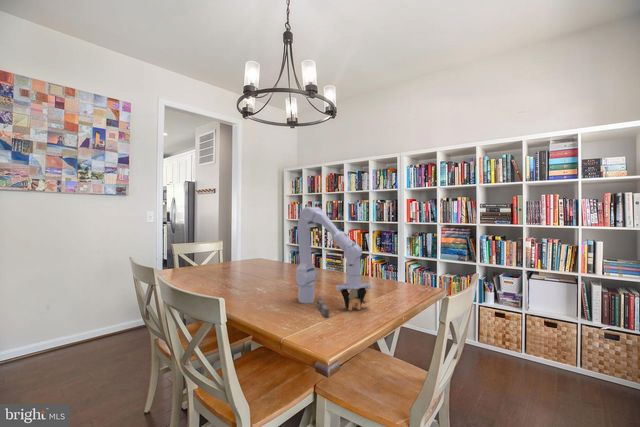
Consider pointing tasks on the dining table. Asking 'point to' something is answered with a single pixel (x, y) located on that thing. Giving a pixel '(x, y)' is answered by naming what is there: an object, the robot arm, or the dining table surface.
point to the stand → (323, 308)
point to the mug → (353, 293)
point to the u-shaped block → (357, 303)
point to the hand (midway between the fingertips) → (353, 306)
